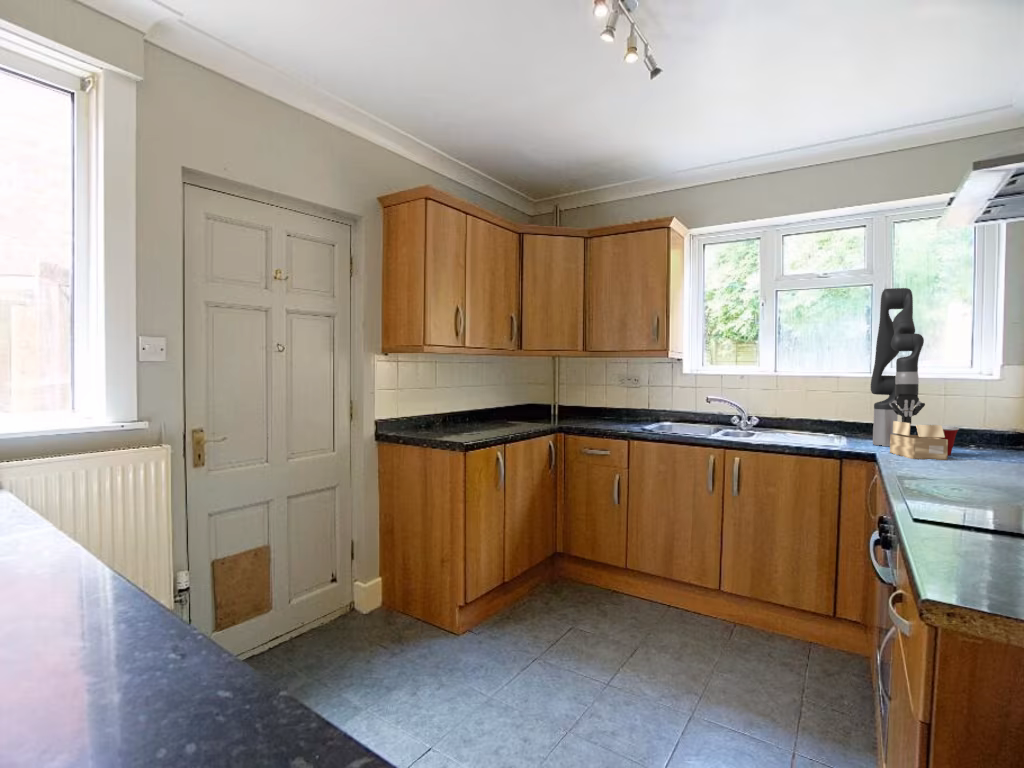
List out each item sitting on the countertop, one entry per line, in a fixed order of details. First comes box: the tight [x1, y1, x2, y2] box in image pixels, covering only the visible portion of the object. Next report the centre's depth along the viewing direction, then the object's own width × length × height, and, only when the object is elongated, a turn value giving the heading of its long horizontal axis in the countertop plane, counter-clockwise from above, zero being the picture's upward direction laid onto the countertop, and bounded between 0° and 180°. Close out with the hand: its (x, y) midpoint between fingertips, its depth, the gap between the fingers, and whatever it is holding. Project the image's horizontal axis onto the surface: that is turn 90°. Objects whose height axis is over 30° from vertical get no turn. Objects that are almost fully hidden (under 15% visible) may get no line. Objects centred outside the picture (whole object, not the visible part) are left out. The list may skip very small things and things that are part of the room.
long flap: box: [893, 420, 911, 436], centre depth 214 cm, size 11×5×1 cm
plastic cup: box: [935, 424, 960, 457], centre depth 221 cm, size 11×11×12 cm
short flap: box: [915, 424, 945, 438], centre depth 206 cm, size 9×5×1 cm
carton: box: [889, 434, 948, 461], centre depth 213 cm, size 16×12×8 cm
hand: (906, 425), depth 214 cm, fingers closed
